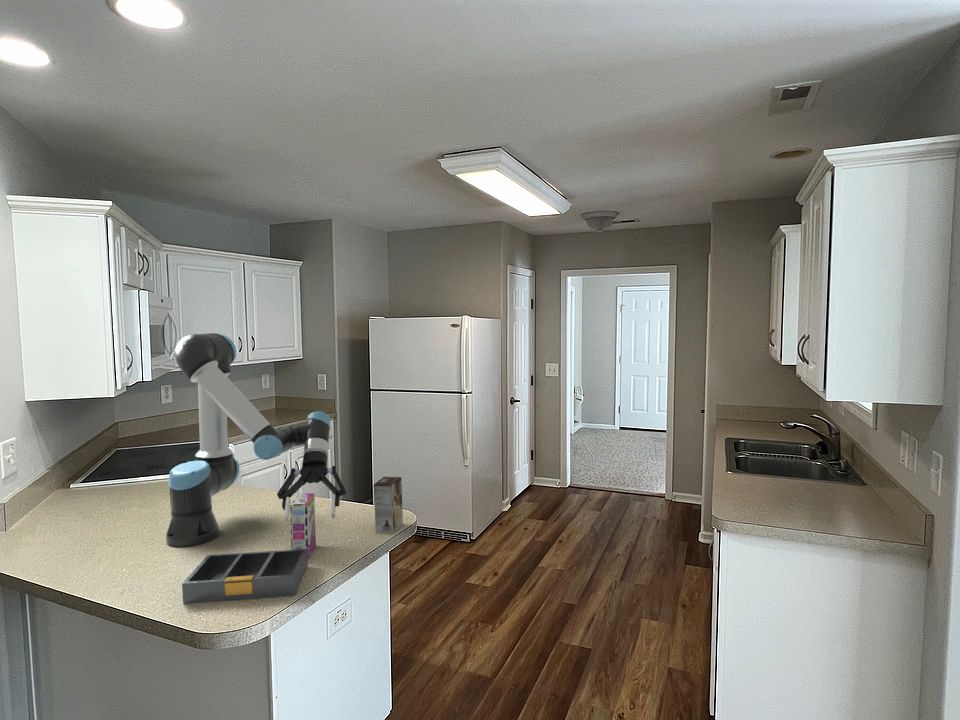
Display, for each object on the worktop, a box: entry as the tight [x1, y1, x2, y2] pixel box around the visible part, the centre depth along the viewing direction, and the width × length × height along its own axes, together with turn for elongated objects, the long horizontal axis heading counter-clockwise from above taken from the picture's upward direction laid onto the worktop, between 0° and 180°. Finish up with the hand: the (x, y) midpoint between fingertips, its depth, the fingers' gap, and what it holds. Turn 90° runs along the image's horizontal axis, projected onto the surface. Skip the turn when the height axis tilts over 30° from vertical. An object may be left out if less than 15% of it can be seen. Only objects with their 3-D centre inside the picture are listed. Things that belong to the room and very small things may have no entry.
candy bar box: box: [289, 493, 317, 560], centre depth 166 cm, size 11×5×16 cm, turn 5°
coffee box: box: [373, 476, 404, 534], centre depth 184 cm, size 9×6×16 cm
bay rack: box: [181, 549, 309, 605], centre depth 147 cm, size 26×17×5 cm, turn 96°
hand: (309, 517), depth 168 cm, fingers open, 13 cm apart
